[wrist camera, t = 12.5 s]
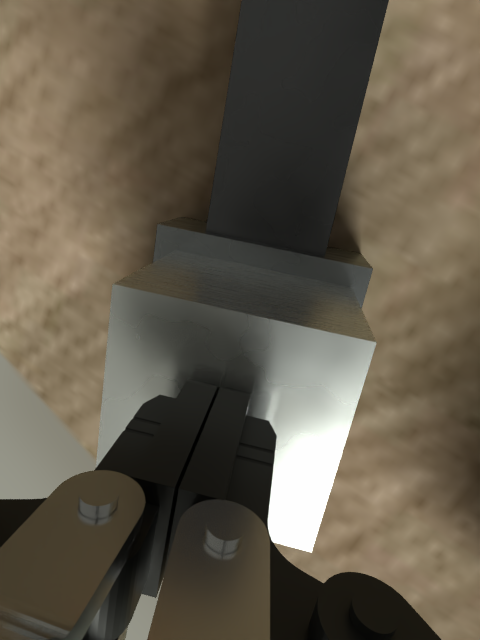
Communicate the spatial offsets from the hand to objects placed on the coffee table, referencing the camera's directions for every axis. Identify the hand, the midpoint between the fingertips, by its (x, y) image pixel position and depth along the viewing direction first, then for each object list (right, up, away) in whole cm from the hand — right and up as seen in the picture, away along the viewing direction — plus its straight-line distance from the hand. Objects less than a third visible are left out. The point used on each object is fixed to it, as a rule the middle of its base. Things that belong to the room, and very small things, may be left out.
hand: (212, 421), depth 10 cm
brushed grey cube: (+1, +1, +5) cm, 5 cm away
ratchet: (+2, +8, +6) cm, 10 cm away
